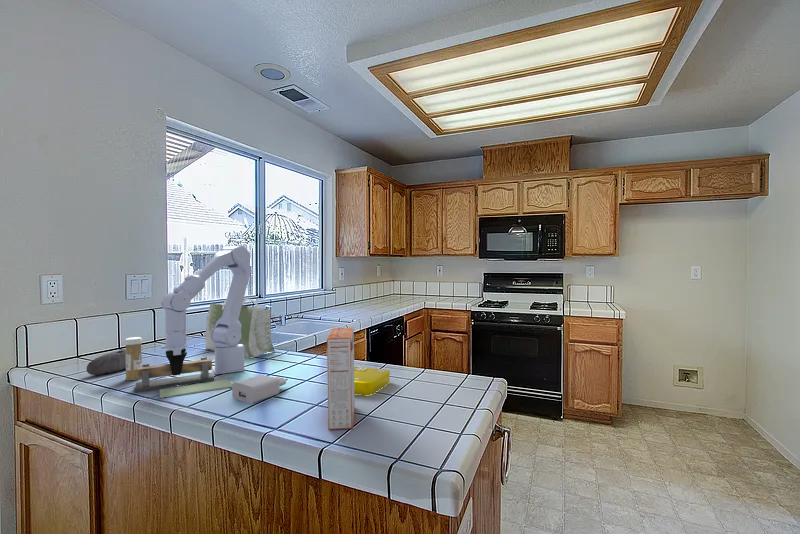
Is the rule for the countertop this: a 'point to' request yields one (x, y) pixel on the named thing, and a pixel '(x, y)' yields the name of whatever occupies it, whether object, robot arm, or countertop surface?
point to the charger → (257, 388)
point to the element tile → (369, 380)
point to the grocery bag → (245, 328)
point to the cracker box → (340, 378)
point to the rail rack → (173, 379)
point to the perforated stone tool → (108, 363)
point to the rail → (166, 368)
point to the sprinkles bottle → (133, 357)
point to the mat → (195, 388)
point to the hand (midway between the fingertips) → (176, 373)
